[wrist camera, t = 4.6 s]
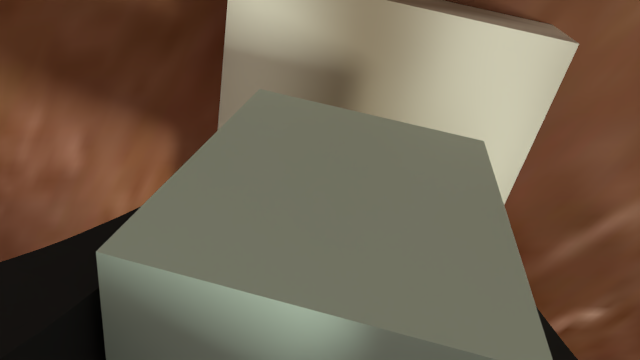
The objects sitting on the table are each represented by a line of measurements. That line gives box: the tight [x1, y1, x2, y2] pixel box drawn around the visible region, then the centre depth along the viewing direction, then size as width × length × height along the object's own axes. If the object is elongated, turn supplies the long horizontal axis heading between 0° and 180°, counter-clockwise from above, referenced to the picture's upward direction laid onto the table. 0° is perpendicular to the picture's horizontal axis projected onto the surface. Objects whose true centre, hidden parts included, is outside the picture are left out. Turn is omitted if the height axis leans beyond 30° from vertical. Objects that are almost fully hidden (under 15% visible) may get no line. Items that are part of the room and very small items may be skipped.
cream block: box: [218, 0, 579, 204], centre depth 15 cm, size 9×9×3 cm
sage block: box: [96, 89, 553, 360], centre depth 9 cm, size 5×5×6 cm
